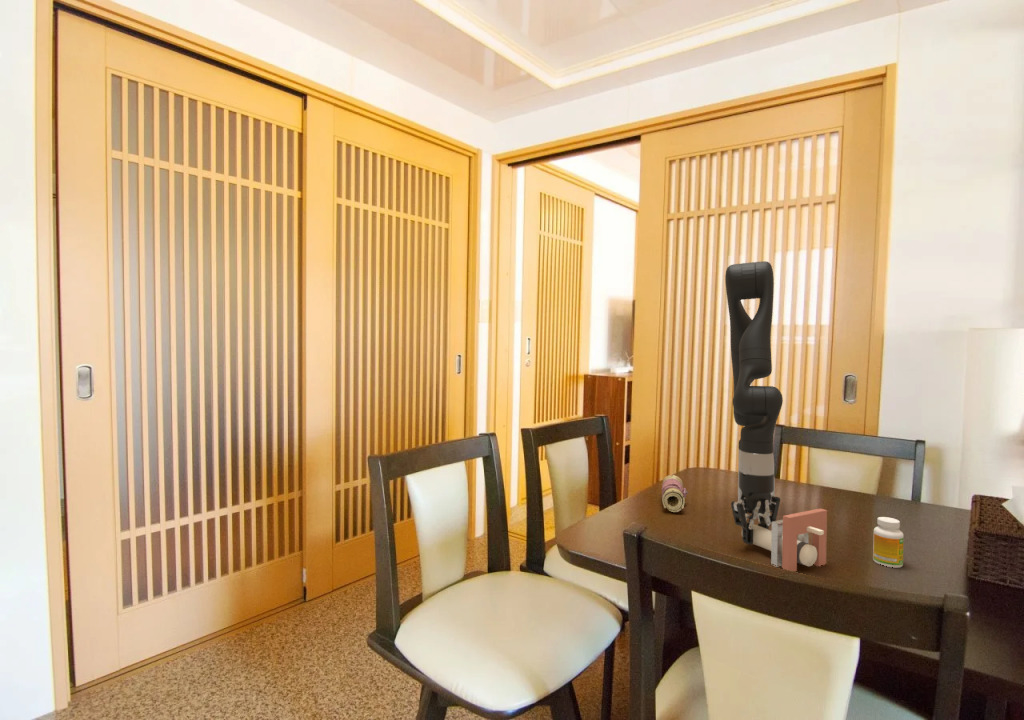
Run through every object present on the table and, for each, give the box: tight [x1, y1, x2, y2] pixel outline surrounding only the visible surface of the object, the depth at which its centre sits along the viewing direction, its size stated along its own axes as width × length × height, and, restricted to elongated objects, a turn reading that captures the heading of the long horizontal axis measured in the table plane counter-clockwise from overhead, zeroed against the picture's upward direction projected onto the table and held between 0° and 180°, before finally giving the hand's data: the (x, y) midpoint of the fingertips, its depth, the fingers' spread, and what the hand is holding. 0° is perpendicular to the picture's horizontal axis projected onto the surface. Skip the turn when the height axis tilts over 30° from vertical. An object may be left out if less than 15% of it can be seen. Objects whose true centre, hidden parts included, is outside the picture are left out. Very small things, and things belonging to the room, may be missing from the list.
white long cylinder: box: [741, 523, 817, 567], centre depth 118 cm, size 16×5×5 cm, turn 24°
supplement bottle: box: [872, 516, 905, 569], centre depth 115 cm, size 5×5×10 cm
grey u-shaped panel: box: [770, 519, 810, 568], centre depth 116 cm, size 10×2×10 cm, turn 115°
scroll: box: [661, 474, 689, 513], centre depth 158 cm, size 8×8×20 cm
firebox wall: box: [781, 507, 828, 571], centre depth 111 cm, size 12×4×12 cm, turn 115°
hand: (755, 541), depth 124 cm, fingers closed on white long cylinder, 4 cm apart
